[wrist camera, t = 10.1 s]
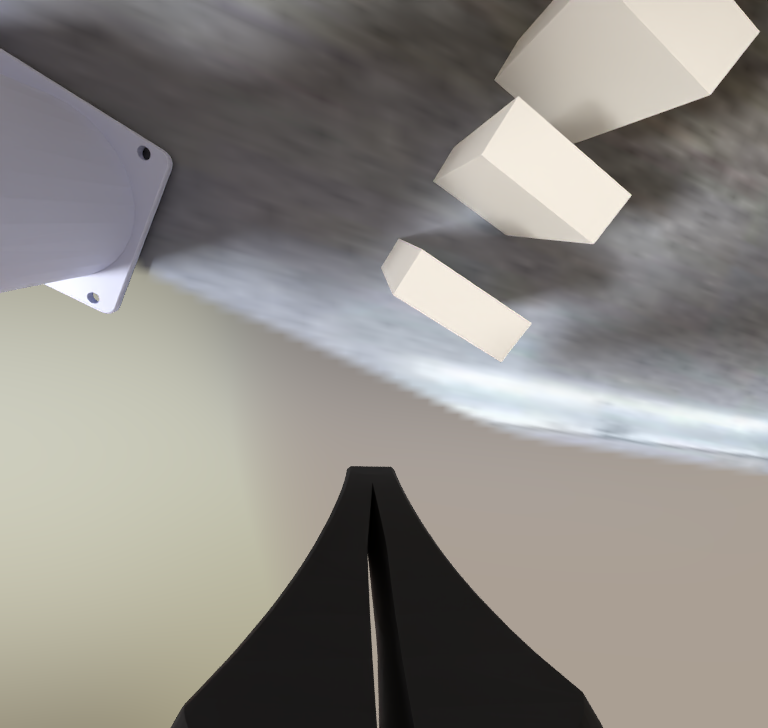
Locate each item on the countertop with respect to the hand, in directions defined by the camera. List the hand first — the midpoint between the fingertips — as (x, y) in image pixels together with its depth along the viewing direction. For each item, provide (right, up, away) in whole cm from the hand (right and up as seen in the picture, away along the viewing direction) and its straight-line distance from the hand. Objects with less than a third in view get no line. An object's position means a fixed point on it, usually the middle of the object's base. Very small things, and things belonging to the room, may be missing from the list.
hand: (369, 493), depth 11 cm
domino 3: (+5, +12, +6) cm, 14 cm away
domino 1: (+3, +8, +7) cm, 11 cm away
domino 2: (+7, +16, +4) cm, 18 cm away
